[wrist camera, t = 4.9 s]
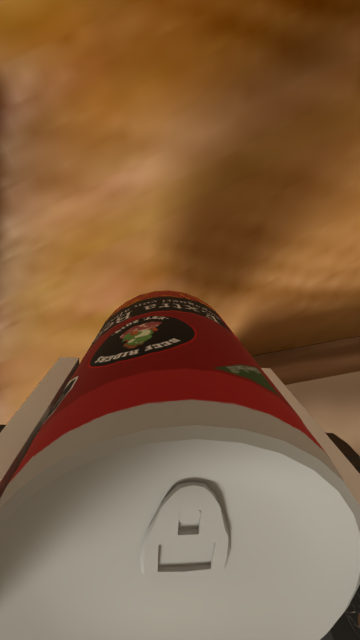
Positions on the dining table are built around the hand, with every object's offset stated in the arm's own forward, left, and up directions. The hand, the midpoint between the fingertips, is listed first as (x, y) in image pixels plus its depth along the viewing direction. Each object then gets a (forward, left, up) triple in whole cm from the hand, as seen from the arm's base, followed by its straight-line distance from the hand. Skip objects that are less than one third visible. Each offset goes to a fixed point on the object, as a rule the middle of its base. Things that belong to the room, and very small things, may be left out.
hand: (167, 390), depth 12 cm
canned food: (0, 0, -4) cm, 4 cm away
